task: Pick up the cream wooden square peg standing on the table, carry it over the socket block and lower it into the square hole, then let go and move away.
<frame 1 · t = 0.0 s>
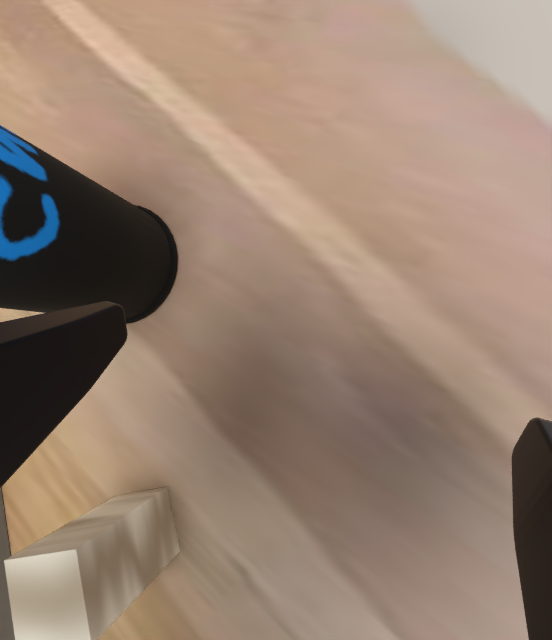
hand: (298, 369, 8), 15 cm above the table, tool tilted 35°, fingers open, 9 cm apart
aerosol can: (125, 265, 27), on the table
cream peg: (146, 523, 25), on the table
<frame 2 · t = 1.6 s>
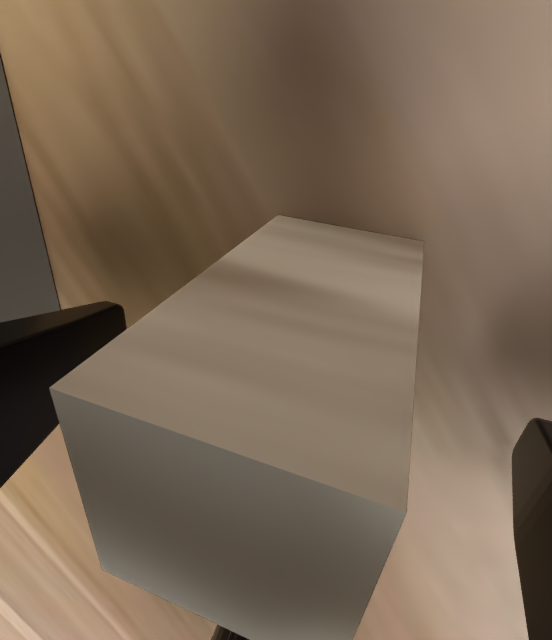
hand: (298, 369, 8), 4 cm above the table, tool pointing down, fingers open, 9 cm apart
cream peg: (335, 293, 12), on the table
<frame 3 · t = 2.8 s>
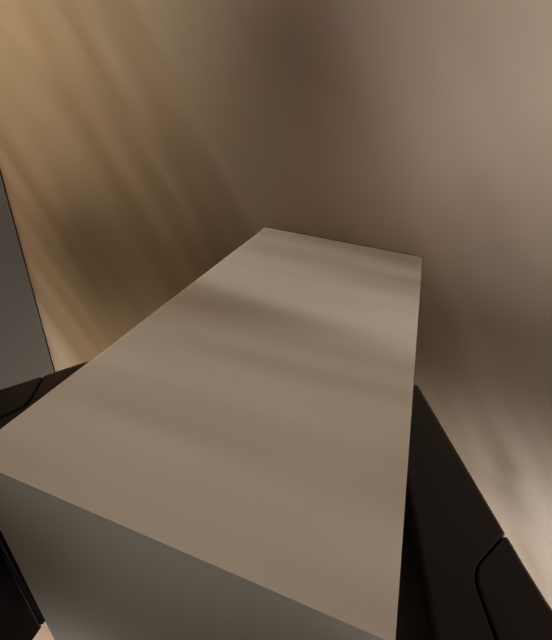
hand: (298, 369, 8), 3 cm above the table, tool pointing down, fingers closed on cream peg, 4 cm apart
cream peg: (327, 310, 11), on the table, touching gripper
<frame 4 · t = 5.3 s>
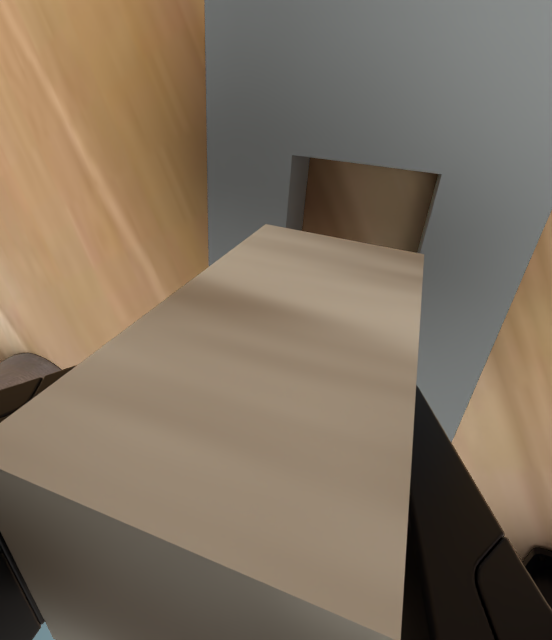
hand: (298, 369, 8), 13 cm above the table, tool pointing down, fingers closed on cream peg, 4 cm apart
socket block: (361, 219, 20), on the table
pillar candle: (48, 392, 37), on the table
cream peg: (328, 308, 11), point 10 cm above the table, touching gripper
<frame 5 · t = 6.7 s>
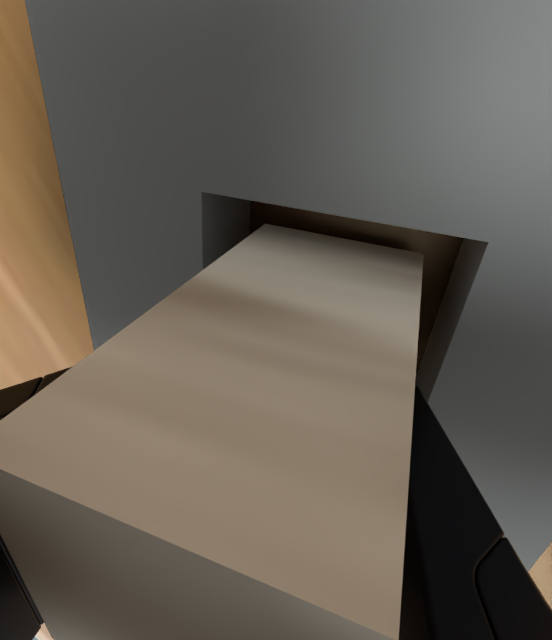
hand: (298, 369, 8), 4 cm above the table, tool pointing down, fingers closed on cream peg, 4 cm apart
socket block: (337, 287, 12), on the table
cream peg: (328, 307, 11), point 2 cm above the table, touching gripper
when the fingers open (4 cm above the table, at t = 7.7 s): cream peg drops 1 cm, resting in socket block.
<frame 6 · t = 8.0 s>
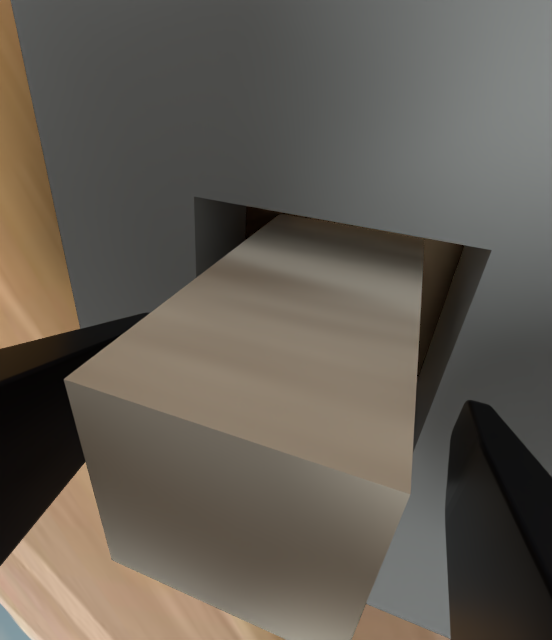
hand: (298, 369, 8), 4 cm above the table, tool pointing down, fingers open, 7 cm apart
socket block: (335, 293, 12), on the table
cream peg: (337, 290, 12), resting in socket block
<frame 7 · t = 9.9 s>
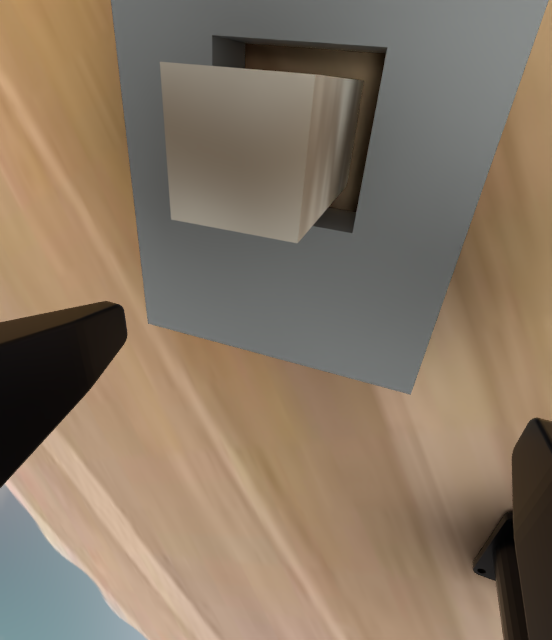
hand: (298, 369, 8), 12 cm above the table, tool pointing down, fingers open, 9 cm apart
socket block: (307, 132, 17), on the table
cream peg: (308, 131, 17), resting in socket block
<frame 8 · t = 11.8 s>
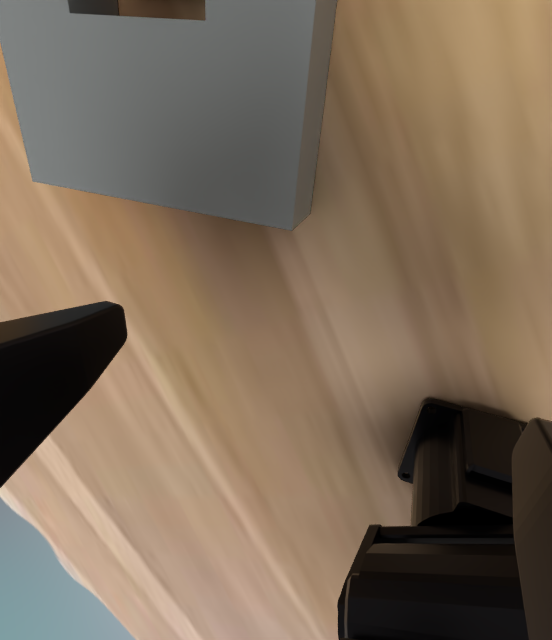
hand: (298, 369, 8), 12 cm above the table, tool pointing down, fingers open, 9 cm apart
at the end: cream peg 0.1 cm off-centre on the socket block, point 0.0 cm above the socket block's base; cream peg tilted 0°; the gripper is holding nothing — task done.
